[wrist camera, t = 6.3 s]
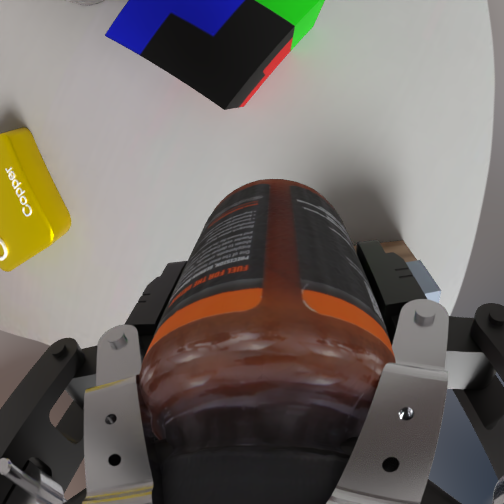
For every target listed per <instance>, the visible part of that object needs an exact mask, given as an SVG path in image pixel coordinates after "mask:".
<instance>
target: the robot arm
mask: <svg viewBox="0 0 504 504" xmlns="http://www.w3.org/2000/svg"><path fill="white" fill-rule="evenodd" d="M66 1H70V2H73V3H77V4H80V5H92V4H96V3H99V2H102V1H104V0H66ZM356 254H357V256H358V258H359V261H360V263H361V265H362V268H363V270H364V272H365V274H366V277H367V279H368V282H369V285H370V287H371V290H372V292H373V295H374V297H375V300H376V302H377V305H378V308H379V310H380V313H381V316H382V319H383V321H384V324H385V327H386V330H387V332H388V335H389V338H390V342H391V345H392V350H393V353H394V356H395V361H396V363H392V362H389V363H387V364H386V365H385V367H384V368H383V371H382V374H381V377H380V381H379V384H378V387H377V390H376V392H375V395H374V398H373V401H372V404H371V407H370V409H369V412H368V415H367V417H366V420H365V423H364V425H363V428H362V430H361V433H360V435H359V437H358V436H356V437H351V438H349V439H347V440H346V441H345V442H342V443H341V445H340V447H341V449H342V450H343V452H345V453H347V454H349V455H350V458H349V461H348V463H347V465H346V467H345V469H344V472H343V474H342V476H341V478H340V480H339V482H338V484H337V486H336V488H335V490H334V492H333V493H332V495H331V497H330V498H329V500H328V501H327V503H326V504H461V503H460V502H458V501H457V500H456V499H454V498H453V497H452V496H450V495H449V494H448V493H446V492H445V491H443V490H442V489H441V488H440V487H438V486H437V485H436V484H434V483H433V482H432V481H430V480H429V479H428V476H429V473H430V470H431V466H432V462H433V459H434V454H435V450H436V446H437V442H438V437H439V432H440V428H441V422H442V417H443V412H444V405H445V399H446V393H447V389H453V391H454V393H455V395H456V397H457V398H458V400H459V402H460V404H461V406H462V407H463V409H464V411H465V413H466V415H467V416H468V418H469V420H470V422H471V424H472V426H473V428H474V430H475V432H476V434H477V436H478V437H479V439H480V441H481V443H482V445H483V447H484V450H485V452H486V454H487V456H488V458H489V460H490V462H491V464H492V466H493V469H494V471H495V473H496V475H497V477H498V480H499V481H498V483H497V484H496V487H495V490H494V495H493V503H492V504H504V387H503V385H502V384H501V382H500V381H499V379H498V378H497V376H496V375H495V374H496V372H497V373H498V374H499V376H500V377H501V379H502V380H503V382H504V306H502V305H500V304H495V303H488V304H484V305H482V306H480V307H479V308H478V309H477V311H476V313H475V316H474V318H461V317H452V316H449V315H448V312H447V311H446V309H445V308H444V307H443V306H442V305H441V304H439V303H437V302H435V301H432V300H428V299H427V297H426V296H425V294H424V292H423V290H422V289H421V287H420V285H419V284H418V282H417V280H416V279H415V277H414V276H413V274H412V272H411V270H410V269H409V267H408V265H407V264H406V262H405V261H404V259H403V258H401V257H400V256H398V255H397V254H395V253H394V252H390V253H385V251H384V249H383V248H382V246H381V244H380V243H379V241H378V240H373V241H364V242H357V247H356ZM187 262H188V261H182V262H173V263H168V264H167V266H166V268H165V269H164V271H163V273H162V274H161V276H160V277H157V278H156V279H154V280H153V281H152V282H151V283H150V284H149V285H148V286H147V287H146V289H145V291H144V292H143V296H141V297H140V299H139V301H138V303H137V304H136V306H135V307H134V309H133V311H132V312H131V314H130V316H129V318H128V319H127V321H126V323H125V325H119V326H116V327H113V328H111V329H110V330H108V331H107V332H105V333H104V334H103V335H102V337H101V338H100V339H99V342H98V346H93V347H89V348H84V349H81V348H80V347H79V345H78V343H77V342H76V340H74V339H72V338H64V339H61V340H58V341H57V342H55V343H53V344H52V345H51V346H50V347H49V348H48V349H47V350H46V352H45V353H44V354H43V355H42V356H41V358H40V359H39V360H38V361H37V363H36V364H35V365H34V366H33V367H32V369H31V370H30V371H29V372H28V374H27V375H26V376H25V378H24V379H23V380H22V381H21V383H20V384H19V385H18V386H17V388H16V389H15V390H14V392H13V393H12V394H11V396H10V397H9V398H8V400H7V401H6V402H5V404H4V405H3V407H2V408H1V409H0V504H164V497H163V486H162V474H161V468H160V466H161V464H162V463H163V462H164V461H165V459H166V458H167V457H168V456H169V455H170V454H171V453H172V451H173V447H172V446H171V445H170V444H169V443H168V442H167V441H166V439H162V440H159V439H158V438H157V437H156V436H155V435H154V433H153V432H152V428H151V415H150V413H149V411H148V409H147V406H146V404H145V402H144V399H143V397H142V394H141V390H140V387H139V374H140V371H141V367H142V363H143V360H144V357H145V355H146V353H147V350H148V348H149V346H150V344H151V342H152V340H153V337H154V333H155V331H156V329H157V326H158V324H159V322H160V320H161V317H162V315H163V313H164V310H165V309H166V307H167V305H168V303H169V300H170V298H171V296H172V293H173V291H174V289H175V287H176V285H177V283H178V281H179V279H180V276H181V274H182V272H183V269H184V268H185V266H186V264H187ZM64 390H66V391H67V393H68V394H69V395H70V396H71V398H72V399H73V402H72V403H71V405H70V406H69V408H68V410H67V411H66V413H65V414H64V416H63V417H62V419H61V420H60V422H59V423H58V425H57V426H56V428H55V427H54V426H53V425H52V424H51V422H50V419H49V413H50V410H51V409H52V407H53V405H54V404H55V403H56V401H57V400H58V398H59V397H60V395H61V394H62V393H63V391H64ZM83 458H85V475H86V488H85V489H84V490H82V491H81V492H79V493H78V494H77V495H75V496H73V497H72V498H71V499H69V500H68V501H67V500H66V499H65V498H64V492H65V491H66V489H67V487H68V485H69V483H70V482H71V480H72V478H73V476H74V474H75V472H76V471H77V469H78V467H79V465H80V463H81V462H82V460H83Z"/></svg>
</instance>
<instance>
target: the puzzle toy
mask: <svg viewBox="0 0 504 504" xmlns="http://www.w3.org/2000/svg"><path fill="white" fill-rule="evenodd" d="M324 1H325V0H129V1H128V2H127V4H126V5H125V6H124V8H123V9H122V11H121V12H120V13H119V15H118V16H117V18H116V19H115V21H114V22H113V24H112V25H111V27H110V28H109V30H108V31H107V33H106V34H105V36H106V37H108V38H110V39H112V40H114V41H116V42H117V43H119V44H121V45H123V46H125V47H126V48H128V49H130V50H132V51H133V52H135V53H137V54H139V55H140V56H142V57H144V58H145V59H147V60H149V61H150V62H152V63H154V64H155V65H157V66H159V67H160V68H162V69H163V70H165V71H167V72H168V73H170V74H171V75H173V76H175V77H176V78H178V79H179V80H181V81H182V82H184V83H186V84H187V85H189V86H190V87H192V88H193V89H195V90H196V91H198V92H199V93H201V94H202V95H204V96H205V97H207V98H208V99H210V100H211V101H212V102H214V103H215V104H217V105H218V106H220V107H221V108H223V109H224V110H226V109H232V108H237V107H243V106H245V104H246V103H247V102H248V101H249V99H250V98H251V97H252V96H253V95H254V93H255V92H256V91H257V90H258V88H259V87H260V86H261V85H262V84H263V82H264V81H265V80H266V79H267V78H268V76H269V75H270V74H271V73H272V72H273V71H274V69H275V68H276V67H277V66H278V65H279V64H280V62H281V61H282V60H283V59H284V58H285V57H286V56H287V54H288V53H289V52H290V51H291V50H292V49H293V48H294V47H295V45H296V44H297V43H298V42H299V41H300V40H301V39H302V38H303V37H304V36H305V35H306V33H307V32H308V31H309V30H310V29H311V28H312V27H313V26H314V23H315V21H316V19H317V17H318V15H319V12H320V10H321V8H322V6H323V3H324Z"/></svg>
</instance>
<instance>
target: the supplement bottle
mask: <svg viewBox="0 0 504 504" xmlns="http://www.w3.org/2000/svg"><path fill="white" fill-rule="evenodd" d="M389 362H392V363H396V361H395V356H394V353H393V350H392V345H391V342H390V338H389V335H388V332H387V330H386V327H385V324H384V321H383V319H382V316H381V313H380V310H379V308H378V305H377V302H376V300H375V297H374V295H373V292H372V290H371V287H370V285H369V282H368V279H367V277H366V274H365V272H364V270H363V268H362V265H361V263H360V261H359V258H358V256H357V254H356V251H355V249H354V246H353V244H352V242H351V240H350V237H349V235H348V233H347V231H346V229H345V227H344V224H343V222H342V220H341V218H340V217H339V215H338V214H337V212H336V211H335V209H334V208H333V206H332V205H331V204H330V203H329V202H328V201H327V200H326V199H325V198H324V197H323V196H322V195H320V194H319V193H318V192H317V191H315V190H314V189H312V188H310V187H308V186H306V185H303V184H300V183H298V182H294V181H289V180H283V179H265V180H258V181H255V182H251V183H249V184H246V185H244V186H242V187H240V188H238V189H236V190H234V191H233V192H231V193H230V194H229V195H227V196H226V197H225V198H224V199H223V200H222V201H221V202H220V203H219V204H218V205H217V207H216V208H215V209H214V211H213V213H212V214H211V216H210V217H209V218H208V220H207V222H206V224H205V226H204V229H203V231H202V233H201V235H200V237H199V239H198V241H197V243H196V245H195V247H194V249H193V251H192V253H191V256H190V257H189V260H188V262H187V264H186V266H185V268H184V269H183V272H182V274H181V276H180V279H179V281H178V283H177V285H176V287H175V289H174V291H173V293H172V296H171V298H170V300H169V303H168V305H167V307H166V309H165V310H164V313H163V315H162V317H161V320H160V322H159V324H158V326H157V329H156V331H155V333H154V337H153V340H152V342H151V344H150V346H149V348H148V350H147V353H146V355H145V357H144V360H143V363H142V367H141V371H140V374H139V387H140V390H141V394H142V397H143V399H144V402H145V404H146V406H147V409H148V411H149V413H150V415H151V428H152V432H153V433H154V435H155V436H156V437H157V438H158V439H159V440H162V439H166V441H167V442H168V443H169V444H170V445H171V446H172V447H173V451H172V453H171V454H170V455H169V456H168V457H167V458H166V459H165V461H164V462H163V463H162V464H161V466H160V468H161V474H162V486H163V497H164V504H326V503H327V501H328V500H329V498H330V497H331V495H332V493H333V492H334V490H335V488H336V486H337V484H338V482H339V480H340V478H341V476H342V474H343V472H344V469H345V467H346V465H347V463H348V461H349V458H350V455H349V454H347V453H345V452H343V450H342V449H341V447H340V445H341V443H342V442H345V441H346V440H347V439H349V438H351V437H356V436H358V437H359V435H360V433H361V430H362V428H363V425H364V423H365V420H366V417H367V415H368V412H369V409H370V407H371V404H372V401H373V398H374V395H375V392H376V390H377V387H378V384H379V381H380V377H381V374H382V371H383V368H384V367H385V365H386V364H387V363H389Z"/></svg>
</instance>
